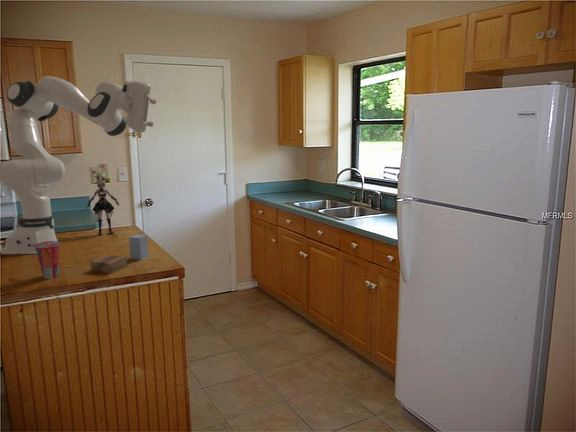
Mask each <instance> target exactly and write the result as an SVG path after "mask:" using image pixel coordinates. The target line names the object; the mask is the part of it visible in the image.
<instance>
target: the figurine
mask: <svg viewBox="0 0 576 432" xmlns="http://www.w3.org/2000/svg"><path fill="white" fill-rule="evenodd" d="M96 180H97V181H96V186H97V188H98V189H96V190H95V192H94V194H93V195H92V197H91V198H90V199H89V200H88V201H87V202H88V203H87V206H86V208H87V210H89V208H92V207H91V204H92V201H94V200H95V197H96V196H97V197H98V198H99V200H98V201H97V202H95V203H94V206H93V208H92V211H93V212H94V215H96V217H97V220H96V221H98V237H99V236H102V235H103V233H102V222H103V219H102V217H103V211H104V212H105V215H106V219H105V221H107V224H108V232H109V235H114V232H113V230H112V223H111V218H112V215H113V214H114V211H113V210H114V209H115V206H114V205H113V203H111V202H110V201H109V200H108V199H107V198H106V197H107V196H109V197H110V199H112V200H113V201H114V202H115V204H116V205H117V206H118V207H120V203H119V201H118V199H117V198H116V197H115V196H114V195H112V194H111V193H110V191H108V189H107V188H106V181H107V176H105V175H103V176H101V178H100V175H99V173H96ZM105 180H106V181H105Z"/></svg>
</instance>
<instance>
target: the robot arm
mask: <svg viewBox="0 0 576 432" xmlns="http://www.w3.org/2000/svg"><path fill="white" fill-rule="evenodd" d="M6 99H7V100H8V102H10V104H12V105H13V106H15V107H16V108H17V107H18V108H17V109H14V110H12V111H11V112H10V113H9V117H8V130H9V131H8V132H9V136H10V141H11V146H12V149H13V151H14V153H16V154H17V155H19V156H22V157H25V159H24V158H21V159H11V160H7V161H6V160H4V161H1V162H0V183H1V184H2V185H4V186H6V187H8V188H9V189H10V190H11V191H13V193H15V195H16V196H17V198H18V200H19V203H20V207H21V212H22V216H21V217H20V218H19V219H18V221H17V225H18V227H16V229H14V230H13V231H12V232H11V233H10V234H9V235H8V236H7V237H6V241H5V246H3V247H2V248H0V254H1V255H31V254H33V255H35V254H36V255H37V253H36V249H35V247H31V246H30V245H33V244H37V243H41V242H47V241H58V238H57V236H56V232H55V219H54V215H53V214H52V213H53V212H52V205H51V200H50V197H49V196H48V195H47V194H45V193H42V192H41V191H40V192H39V191H36V190H34V188H33V186H34V185H45V184H46V185H47V184H48V185H49V184H53V183H57V182H61V181H62V180H63V179H64V178H65V176H66V166H65V164H64V163H63V161H62V160H60V159H59V158H57V157H54V156H53V155H52V154H50V153H49V152H48V151H47V150H46V148H45V147H44V146H43V143H42V141H41V138H40V132H39V128H38V121H39V122H45V121H46V120H49V119H51V118H52V117H54V116H55V115H56V114H57V113H58V111H59V107H61V108H63V109H65V110H68V111H70V112H72V113H74V114H77V115H80V116H81V117H84V118H86V119H87V120H89V121H90V122H92V123H94V124H96V125H97V126H100V127H101V128H102V130H103V131H104V132H105V133H106V134H107V135H108V136H111V137H114V136H115V137H116V136H120V135H121V134H122V133H124V132H125V130H126V128H127V127H128V128H130V129H131V130H133V131H134V132H136V133H137V134H140V133H145V132H146V129H147V127H150V128H152V127H154V122H152V121H147V120H148V111H149V104H152V105H156V104H157V99H155V98H154V97H153V95H152V94H151V85H150V83H148V82H145V81H143V80H142V81H139V80H126V81H125V82H124V83H123V85H122V86H121V85H120V84H118V83H115V82H111V81H101V82H100V83H98V84H97V86H96V88H95V95H94V96H93V97H92V98H91V100H89V99H88V98H87V97H86V96H85V95H84V94H83V92H81V90H80V89H78V87H77V86H76V85H74V84H73V83H71V82H69V81H68V80H65V79H63V78H61V77H57V76H51V75H46V76H43V77H41V78H40V79H39V81H38V82H37V83H33V82H32V81H31V80H28V81H27V80H26V81H16V82H12V83H11V84H10V85H9V87H8V88H7V90H6ZM119 110H121V111H122V112H125V113H126V114H127V115H126V116H127V118H126V117H125V116H124V115H122V114H121V112H119Z"/></svg>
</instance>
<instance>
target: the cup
mask: <svg viewBox="0 0 576 432" xmlns="http://www.w3.org/2000/svg"><path fill="white" fill-rule="evenodd" d="M30 246H31V247H35V249H36V253H37V254H36V255H37V260H38V263H39V267H40V270H41V275H42V277H43V279H54V278H57V277H58V276H59V275H60V246H61V241H58V240H57V241H47V242H41V243H37V244H33V245H30Z"/></svg>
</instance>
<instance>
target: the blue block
mask: <svg viewBox="0 0 576 432" xmlns="http://www.w3.org/2000/svg"><path fill="white" fill-rule="evenodd" d="M128 243H129V244H128V245H129V255H130V260H139V261H142V260H144V259H147V258H148V257H149V243H148V235H147V234H137V233H136V234H133V235H131V236H129V237H128Z"/></svg>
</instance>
